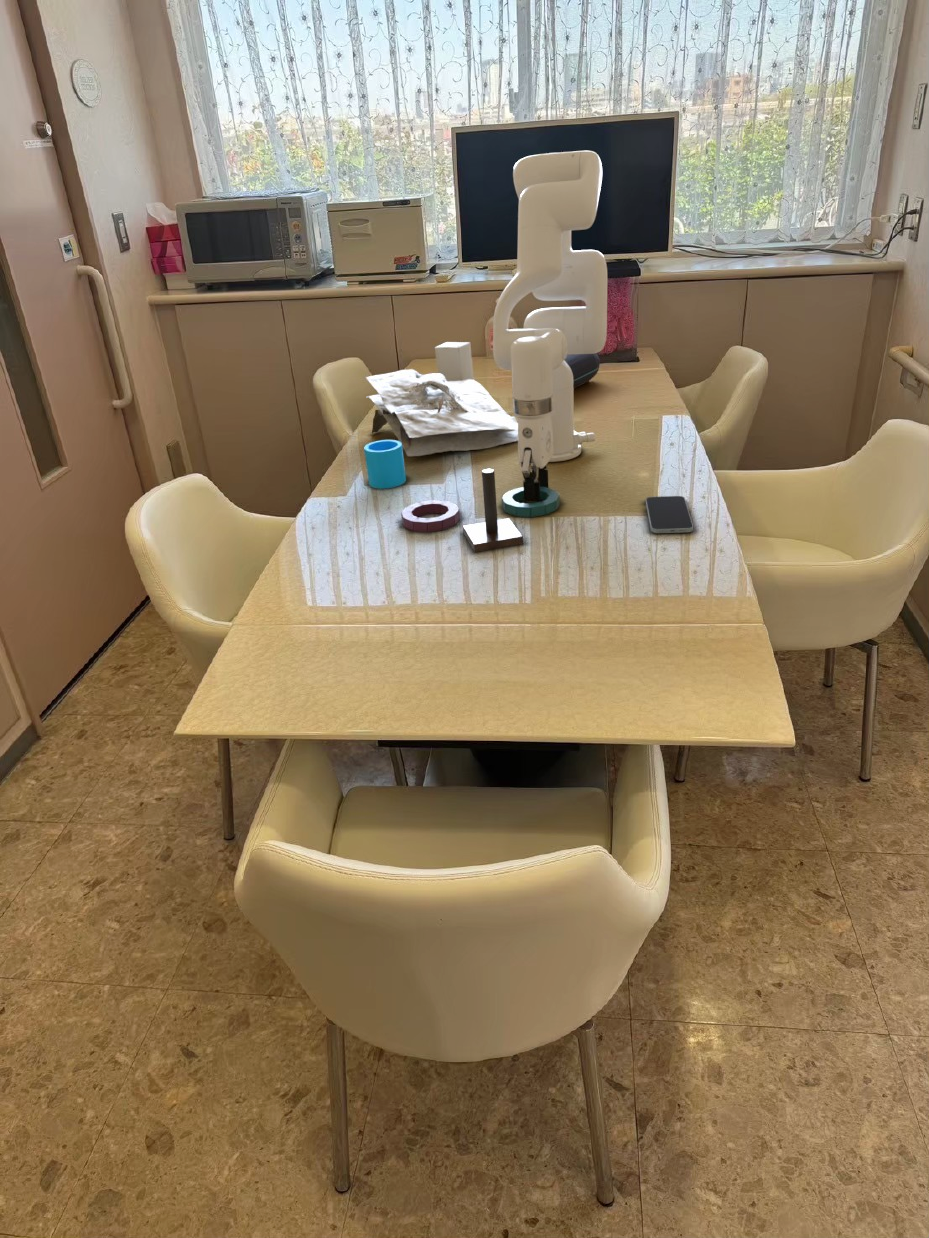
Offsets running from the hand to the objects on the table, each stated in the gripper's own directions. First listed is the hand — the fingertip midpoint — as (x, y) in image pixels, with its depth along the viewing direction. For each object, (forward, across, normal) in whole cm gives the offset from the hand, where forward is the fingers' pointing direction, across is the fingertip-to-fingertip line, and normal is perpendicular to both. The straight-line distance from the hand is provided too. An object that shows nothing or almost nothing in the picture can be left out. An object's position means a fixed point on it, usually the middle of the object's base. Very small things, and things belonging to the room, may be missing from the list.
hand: (536, 493), depth 167 cm
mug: (+1, +6, +35) cm, 36 cm away
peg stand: (+1, -20, +3) cm, 21 cm away
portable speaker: (+1, +81, +12) cm, 82 cm away
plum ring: (+1, -14, +18) cm, 23 cm away
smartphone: (+1, -6, -27) cm, 28 cm away
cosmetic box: (+1, +69, +41) cm, 80 cm away
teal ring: (+1, -4, 0) cm, 5 cm away
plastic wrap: (+1, +38, +34) cm, 51 cm away
